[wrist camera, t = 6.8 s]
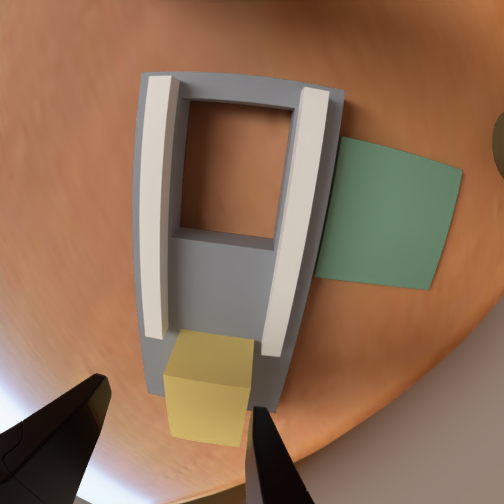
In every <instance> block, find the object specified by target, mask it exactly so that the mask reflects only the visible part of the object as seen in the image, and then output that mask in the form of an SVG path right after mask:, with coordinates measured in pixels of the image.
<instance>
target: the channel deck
mask: <svg viewBox="0 0 504 504" xmlns="http://www.w3.org/2000/svg"><path fill="white" fill-rule="evenodd" d="M344 96H345V91H344V90H340V89H335V88H330V87H326V86H321V85H315V84H310V83H304V82H298V81H292V80H286V79H278V78H271V77H263V76H253V75H243V74H230V73H214V72H143V73H142V77H141V84H140V92H139V101H138V110H137V121H136V133H135V147H134V165H133V202H132V222H133V259H134V278H135V293H136V305H137V316H138V326H139V335H140V343H141V351H142V358H143V365H144V372H145V378H146V384H147V390H148V393H150V394H155V395H159V396H164V397H165V388H164V379H163V373H164V371H165V368H166V366H167V363H168V360H169V358H170V355H171V353H172V350H173V348H174V345H175V343H176V340H177V338H178V335H179V333H180V330H181V329H186V330H191V331H198V332H204V333H210V334H217V335H224V336H231V337H239V338H246V339H254V350H253V364H252V378H251V390H250V395H249V400H248V405H247V410H250V411H252V408H253V406H254V405H257V406H265V407H266V408H267V409H268V412H271V413H276V409H277V406H278V403H279V400H280V396H281V393H282V390H283V386H284V383H285V379H286V376H287V372H288V369H289V365H290V362H291V358H292V355H293V351H294V347H295V344H296V340H297V336H298V332H299V328H300V324H301V321H302V317H303V313H304V309H305V305H306V300H307V296H308V292H309V288H310V284H311V279H312V275H313V271H314V266H315V262H316V257H317V252H318V248H319V243H320V238H321V234H322V229H323V224H324V219H325V214H326V208H327V203H328V198H329V192H330V187H331V181H332V176H333V170H334V164H335V158H336V152H337V145H338V139H339V132H340V125H341V118H342V111H343V104H344ZM190 101H201V102H218V103H231V104H242V105H251V106H260V107H268V108H276V109H283V110H289V111H292V114H291V122H290V129H289V136H288V143H287V150H286V157H285V164H284V171H283V178H282V185H281V192H280V199H279V205H278V212H277V218H276V225H275V231H274V238H273V239H270V238H263V237H255V236H248V235H240V234H232V233H224V232H216V231H208V230H200V229H192V228H184V227H180V220H181V201H182V185H183V171H184V158H185V147H186V136H187V126H188V117H189V108H190Z"/></svg>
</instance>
